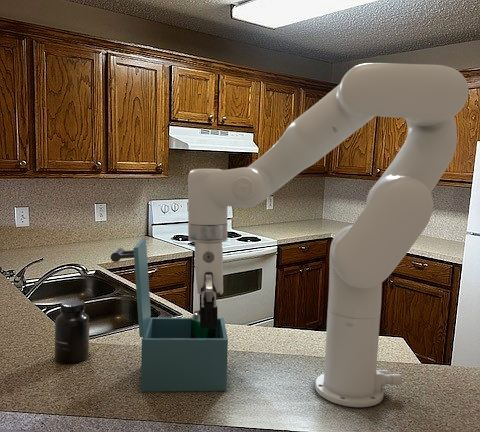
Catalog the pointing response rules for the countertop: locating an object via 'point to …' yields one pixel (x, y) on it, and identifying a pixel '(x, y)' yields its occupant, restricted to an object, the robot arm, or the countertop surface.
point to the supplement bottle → (72, 333)
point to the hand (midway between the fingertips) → (208, 319)
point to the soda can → (199, 332)
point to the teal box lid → (139, 280)
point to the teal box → (182, 357)
